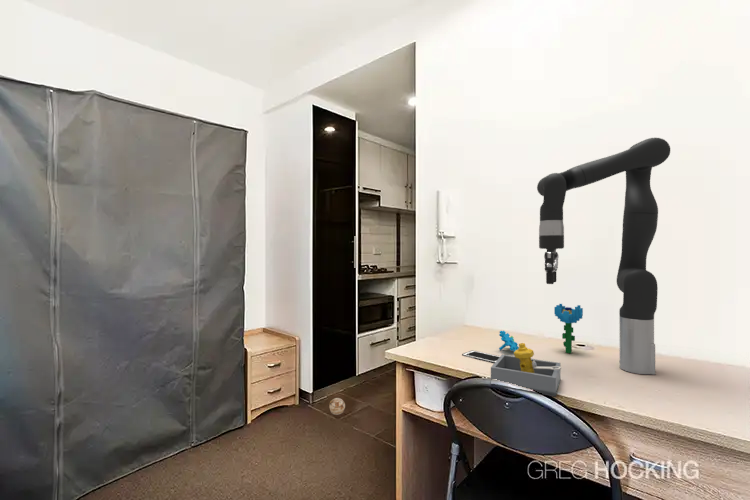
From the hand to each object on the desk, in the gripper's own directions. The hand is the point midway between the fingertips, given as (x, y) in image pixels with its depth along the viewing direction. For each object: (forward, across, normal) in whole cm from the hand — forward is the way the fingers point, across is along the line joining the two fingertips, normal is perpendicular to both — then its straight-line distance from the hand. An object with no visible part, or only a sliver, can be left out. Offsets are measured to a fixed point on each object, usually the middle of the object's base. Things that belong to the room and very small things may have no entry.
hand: (551, 283), depth 121 cm
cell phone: (+29, -1, +22) cm, 36 cm away
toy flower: (+28, +22, -4) cm, 36 cm away
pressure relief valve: (+26, -19, +1) cm, 33 cm away
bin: (+28, -19, +5) cm, 34 cm away
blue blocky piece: (+29, +12, +14) cm, 34 cm away
